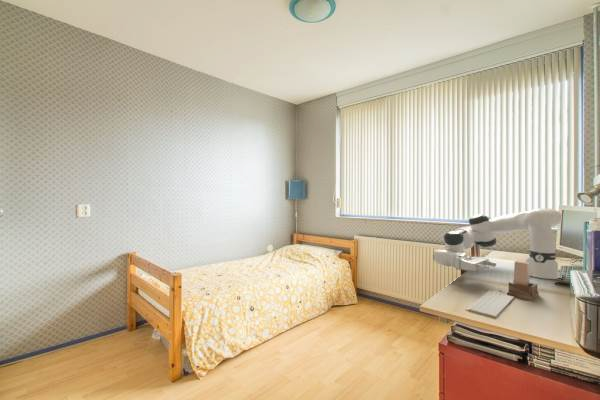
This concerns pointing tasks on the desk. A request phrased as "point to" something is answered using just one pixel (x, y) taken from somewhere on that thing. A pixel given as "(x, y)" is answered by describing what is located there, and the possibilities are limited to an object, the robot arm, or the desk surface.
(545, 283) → the desk surface
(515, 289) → the slotted wooden stand
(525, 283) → the clay strip
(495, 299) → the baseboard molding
